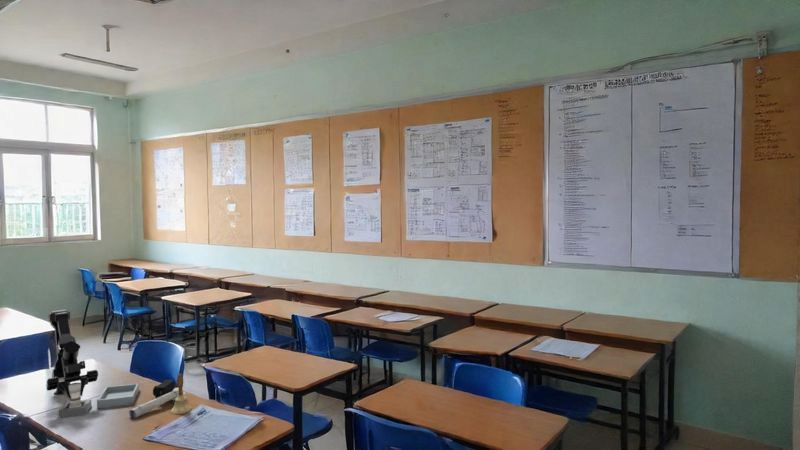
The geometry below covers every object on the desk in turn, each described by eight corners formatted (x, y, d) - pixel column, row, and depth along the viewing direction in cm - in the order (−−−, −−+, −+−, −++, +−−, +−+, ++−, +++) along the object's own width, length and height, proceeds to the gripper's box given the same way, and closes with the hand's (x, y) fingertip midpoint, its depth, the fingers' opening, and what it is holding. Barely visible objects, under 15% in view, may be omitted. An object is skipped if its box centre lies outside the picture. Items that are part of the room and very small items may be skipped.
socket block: (65, 409, 224) (65, 402, 224) (91, 406, 227) (91, 399, 227) (58, 417, 215) (58, 410, 214) (85, 414, 218) (85, 407, 218)
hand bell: (183, 414, 217) (183, 377, 216) (166, 413, 219) (165, 376, 218) (195, 407, 225) (194, 371, 224) (178, 406, 227) (177, 370, 226)
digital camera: (163, 394, 241) (163, 379, 241) (174, 394, 241) (174, 379, 241) (152, 402, 231) (152, 387, 231) (164, 402, 231) (164, 387, 231)
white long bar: (127, 408, 215) (179, 382, 236) (129, 423, 216) (181, 396, 237) (134, 411, 212) (186, 384, 233) (137, 425, 213) (188, 398, 234)
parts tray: (105, 394, 241) (105, 386, 241) (138, 390, 246) (138, 383, 246) (97, 408, 224) (96, 400, 224) (132, 404, 229) (132, 396, 229)
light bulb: (71, 410, 222) (70, 383, 222) (82, 409, 224) (81, 382, 223) (68, 414, 218) (67, 386, 218) (80, 413, 220) (79, 385, 219)
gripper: (46, 360, 217) (50, 392, 209) (96, 351, 229) (102, 382, 221) (44, 374, 223) (48, 406, 215) (93, 365, 235) (99, 395, 227)
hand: (75, 397), depth 220 cm, fingers closed on light bulb, 4 cm apart
